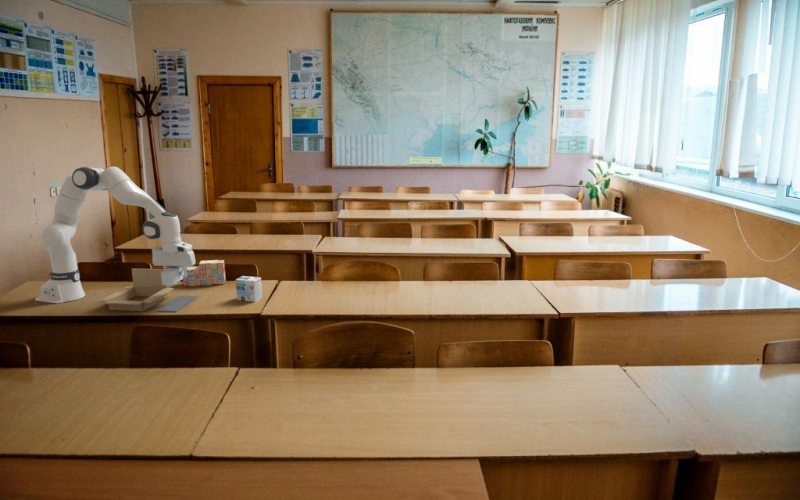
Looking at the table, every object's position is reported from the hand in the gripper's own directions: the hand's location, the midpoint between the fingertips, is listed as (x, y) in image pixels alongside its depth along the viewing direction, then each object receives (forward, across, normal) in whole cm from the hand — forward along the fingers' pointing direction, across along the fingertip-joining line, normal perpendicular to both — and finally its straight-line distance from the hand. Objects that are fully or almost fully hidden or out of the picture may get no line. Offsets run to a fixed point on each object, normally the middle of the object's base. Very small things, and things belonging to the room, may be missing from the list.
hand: (175, 274), depth 284 cm
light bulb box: (+15, +32, +10) cm, 37 cm away
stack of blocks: (+15, -2, +32) cm, 36 cm away
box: (+3, 0, 0) cm, 3 cm away
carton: (+15, -20, -2) cm, 25 cm away
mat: (+15, 0, -1) cm, 15 cm away
